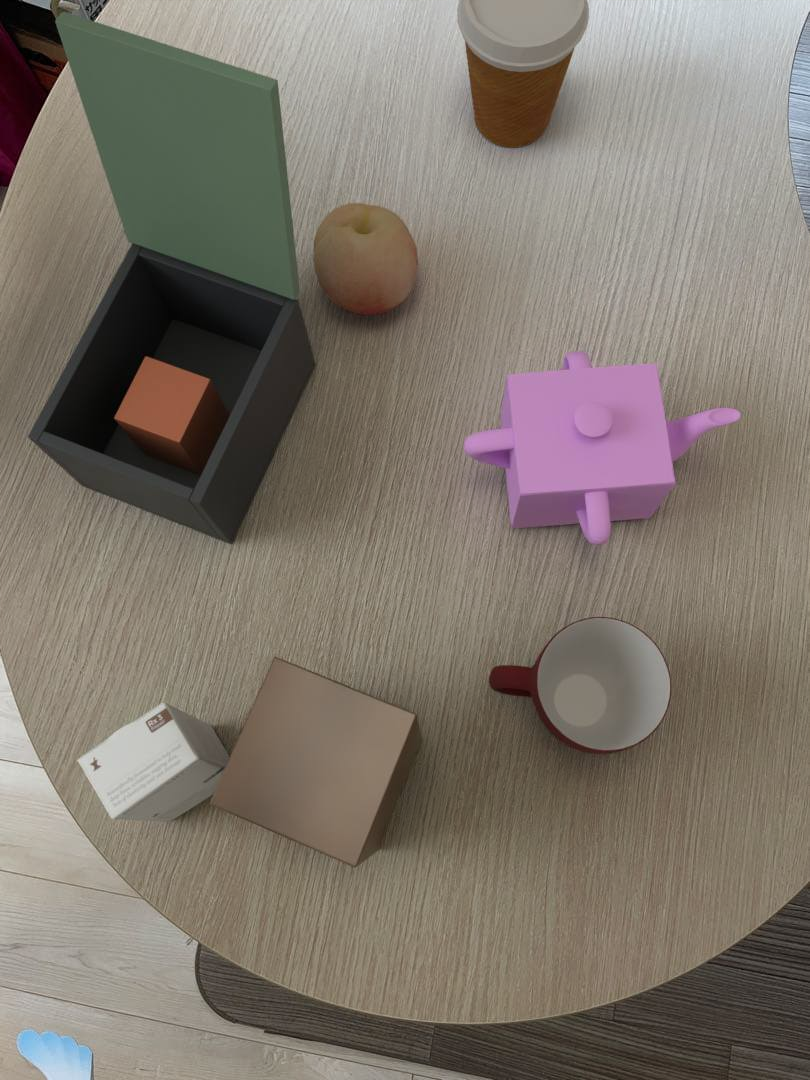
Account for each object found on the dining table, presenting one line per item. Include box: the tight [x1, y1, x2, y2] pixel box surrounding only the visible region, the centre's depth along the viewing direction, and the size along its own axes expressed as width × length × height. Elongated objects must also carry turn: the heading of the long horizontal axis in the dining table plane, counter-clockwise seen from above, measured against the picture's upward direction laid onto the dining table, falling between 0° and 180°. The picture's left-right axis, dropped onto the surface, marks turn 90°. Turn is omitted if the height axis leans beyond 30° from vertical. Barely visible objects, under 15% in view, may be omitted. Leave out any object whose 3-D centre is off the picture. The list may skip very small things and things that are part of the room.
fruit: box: [313, 202, 419, 315], centre depth 71 cm, size 8×8×8 cm
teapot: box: [463, 350, 741, 546], centre depth 65 cm, size 18×14×10 cm
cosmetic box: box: [77, 701, 230, 823], centre depth 59 cm, size 6×4×12 cm
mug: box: [488, 616, 672, 755], centre depth 61 cm, size 10×8×10 cm
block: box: [114, 356, 230, 476], centre depth 68 cm, size 5×5×7 cm
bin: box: [27, 243, 317, 545], centre depth 67 cm, size 16×13×10 cm
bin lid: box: [54, 11, 301, 300], centre depth 57 cm, size 16×13×1 cm
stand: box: [209, 656, 423, 868], centre depth 56 cm, size 8×8×18 cm
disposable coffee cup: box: [456, 0, 590, 148], centre depth 73 cm, size 10×10×12 cm
